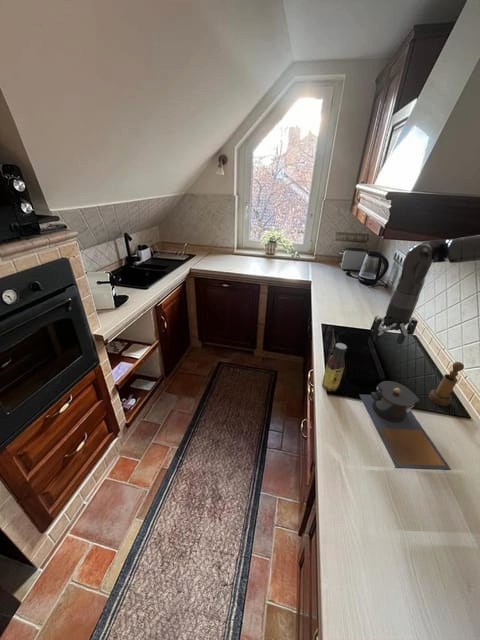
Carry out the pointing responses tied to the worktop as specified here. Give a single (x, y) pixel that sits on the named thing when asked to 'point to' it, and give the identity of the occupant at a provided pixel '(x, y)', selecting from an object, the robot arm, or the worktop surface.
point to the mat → (406, 441)
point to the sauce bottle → (334, 368)
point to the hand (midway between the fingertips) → (387, 342)
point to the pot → (393, 401)
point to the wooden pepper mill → (446, 386)
